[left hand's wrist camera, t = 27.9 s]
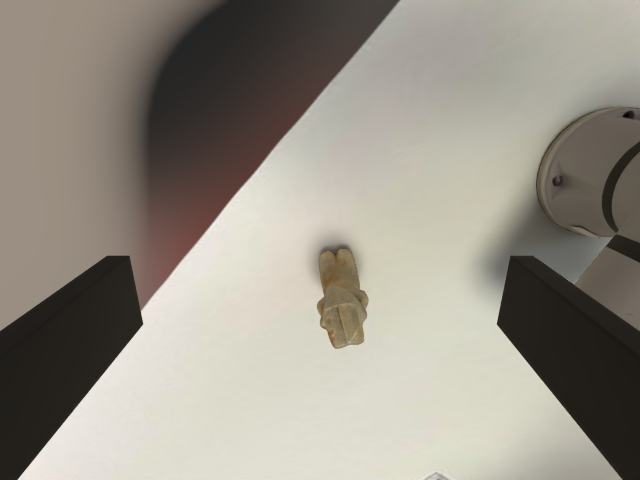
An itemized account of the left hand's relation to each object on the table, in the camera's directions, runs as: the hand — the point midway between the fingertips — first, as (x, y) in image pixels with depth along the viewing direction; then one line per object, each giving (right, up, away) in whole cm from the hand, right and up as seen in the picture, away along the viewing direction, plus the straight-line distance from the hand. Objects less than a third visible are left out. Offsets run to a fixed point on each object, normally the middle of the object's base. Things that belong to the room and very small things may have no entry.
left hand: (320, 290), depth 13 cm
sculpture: (+3, -2, +37) cm, 37 cm away
